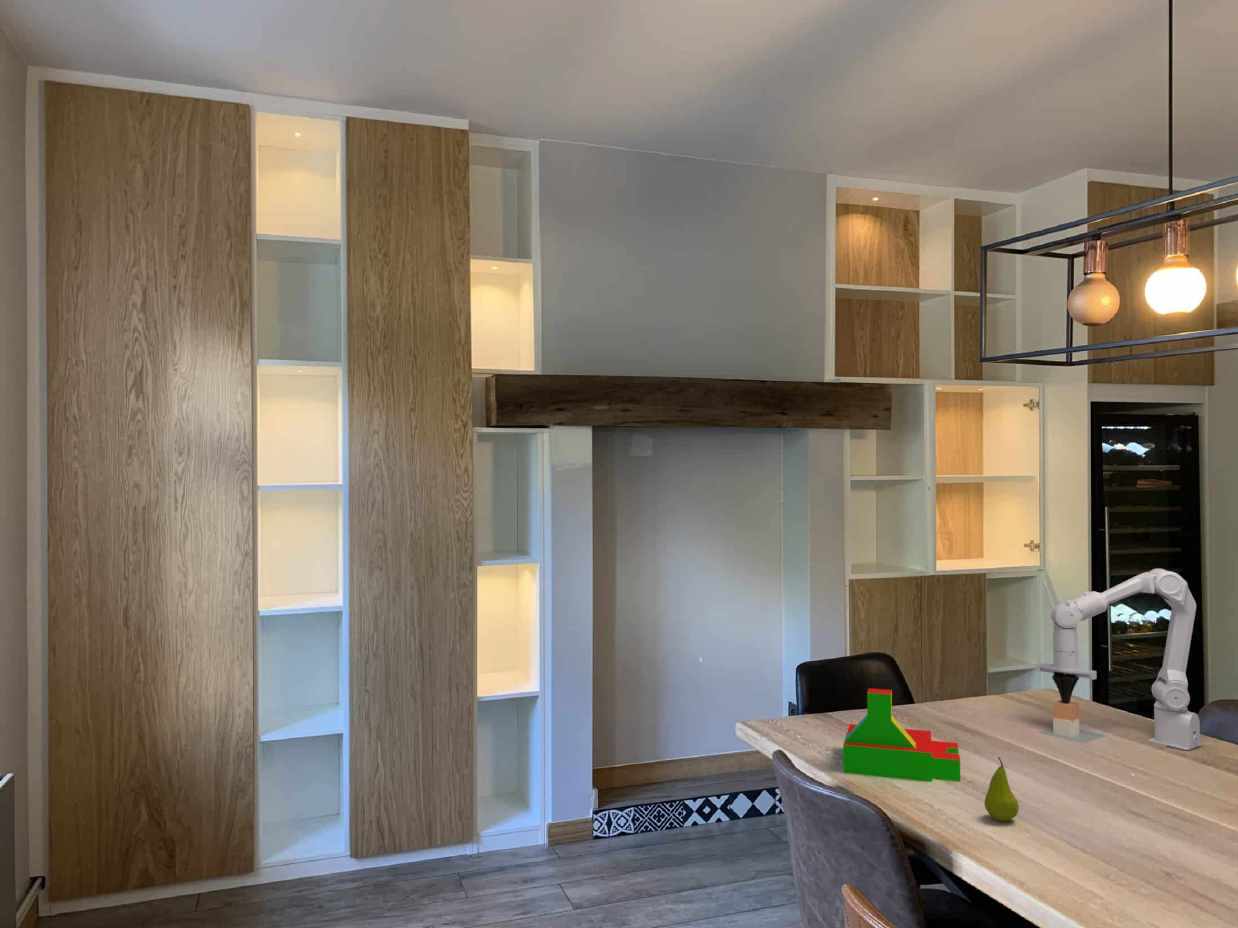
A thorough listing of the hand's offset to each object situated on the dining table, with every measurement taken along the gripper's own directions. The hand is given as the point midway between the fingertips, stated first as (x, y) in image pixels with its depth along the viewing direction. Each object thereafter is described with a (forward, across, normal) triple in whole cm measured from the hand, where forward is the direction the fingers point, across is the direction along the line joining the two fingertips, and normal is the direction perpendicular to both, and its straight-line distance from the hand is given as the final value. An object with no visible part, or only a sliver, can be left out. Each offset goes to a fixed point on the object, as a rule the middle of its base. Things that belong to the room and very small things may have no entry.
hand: (1065, 702), depth 232 cm
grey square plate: (+9, -1, -1) cm, 9 cm away
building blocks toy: (+9, +16, +55) cm, 58 cm away
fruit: (+9, -14, +72) cm, 74 cm away
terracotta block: (+4, 0, 0) cm, 4 cm away
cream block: (+8, 0, 0) cm, 8 cm away
